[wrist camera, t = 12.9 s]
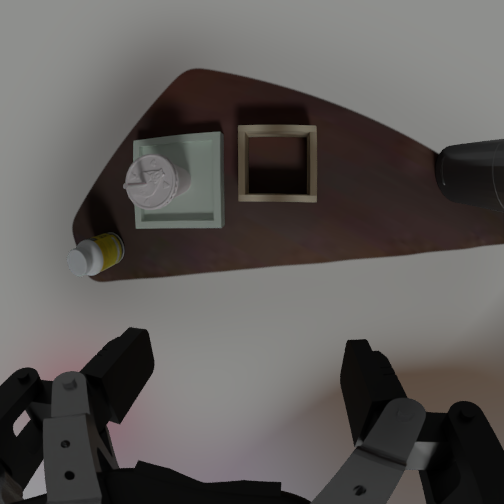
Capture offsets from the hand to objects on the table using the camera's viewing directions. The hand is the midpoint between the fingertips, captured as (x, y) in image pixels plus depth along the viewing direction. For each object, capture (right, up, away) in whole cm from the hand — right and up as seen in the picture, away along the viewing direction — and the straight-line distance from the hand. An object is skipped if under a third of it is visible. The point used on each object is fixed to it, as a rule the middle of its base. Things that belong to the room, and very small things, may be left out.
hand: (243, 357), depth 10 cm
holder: (+4, +16, +27) cm, 31 cm away
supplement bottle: (-23, +5, +32) cm, 40 cm away
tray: (-10, +14, +29) cm, 34 cm away
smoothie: (-10, +14, +28) cm, 33 cm away
